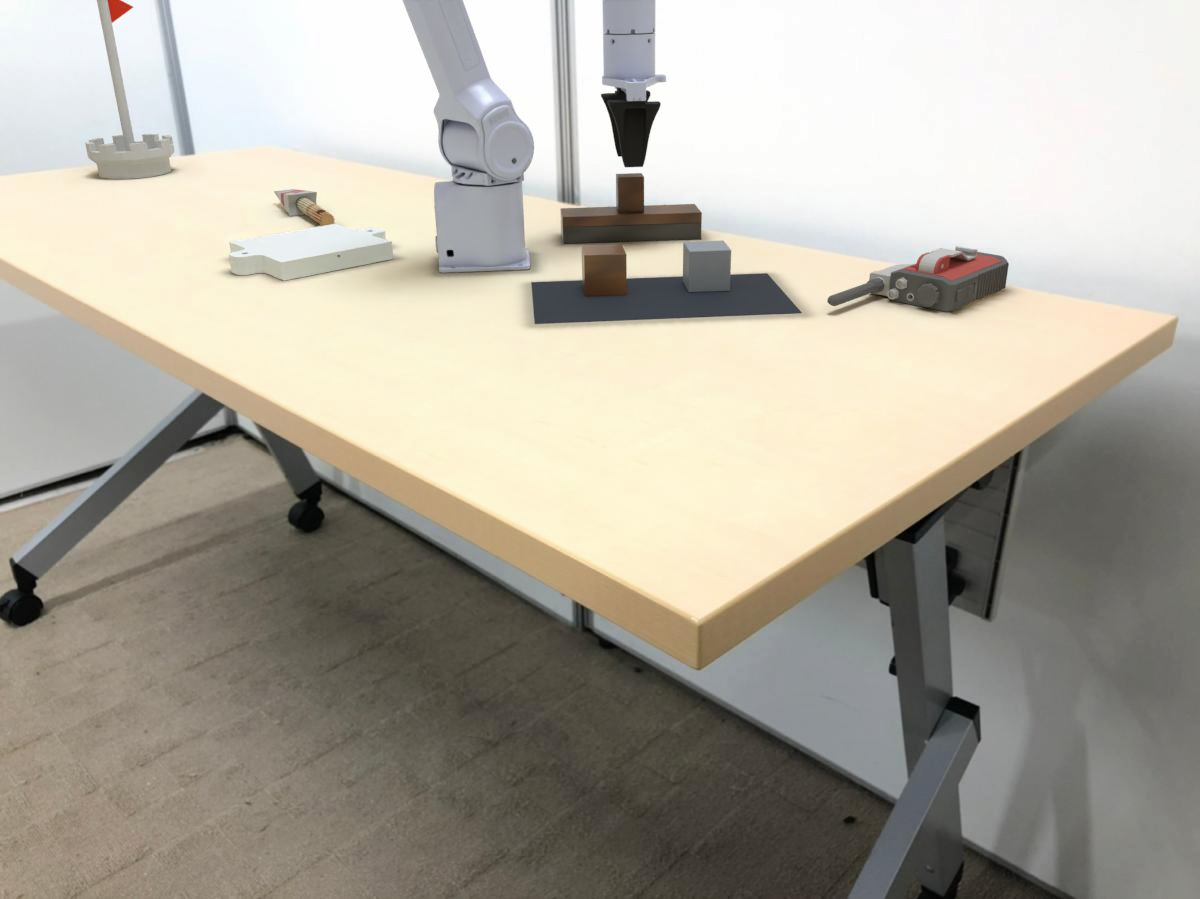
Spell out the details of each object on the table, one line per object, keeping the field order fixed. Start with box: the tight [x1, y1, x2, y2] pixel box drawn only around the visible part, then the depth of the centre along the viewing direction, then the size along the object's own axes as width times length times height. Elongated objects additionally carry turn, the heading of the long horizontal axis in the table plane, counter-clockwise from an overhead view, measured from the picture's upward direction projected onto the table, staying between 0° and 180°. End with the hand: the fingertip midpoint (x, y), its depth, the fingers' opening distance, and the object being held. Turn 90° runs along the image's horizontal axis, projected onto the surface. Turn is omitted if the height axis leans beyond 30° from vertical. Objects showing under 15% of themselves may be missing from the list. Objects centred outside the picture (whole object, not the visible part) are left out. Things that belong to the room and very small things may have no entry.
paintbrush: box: [273, 188, 335, 226], centre depth 140 cm, size 4×3×20 cm
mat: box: [530, 272, 803, 325], centre depth 101 cm, size 24×14×1 cm, turn 95°
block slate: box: [682, 240, 732, 292], centre depth 103 cm, size 4×4×4 cm
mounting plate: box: [228, 223, 394, 282], centre depth 117 cm, size 18×13×2 cm
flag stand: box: [84, 0, 175, 180], centre depth 167 cm, size 13×13×30 cm
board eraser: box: [559, 172, 703, 246], centre depth 123 cm, size 16×5×7 cm, turn 95°
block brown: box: [580, 243, 628, 296], centre depth 102 cm, size 4×4×4 cm
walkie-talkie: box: [827, 245, 1010, 313], centre depth 98 cm, size 9×4×20 cm
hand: (630, 161), depth 121 cm, fingers open, 7 cm apart
